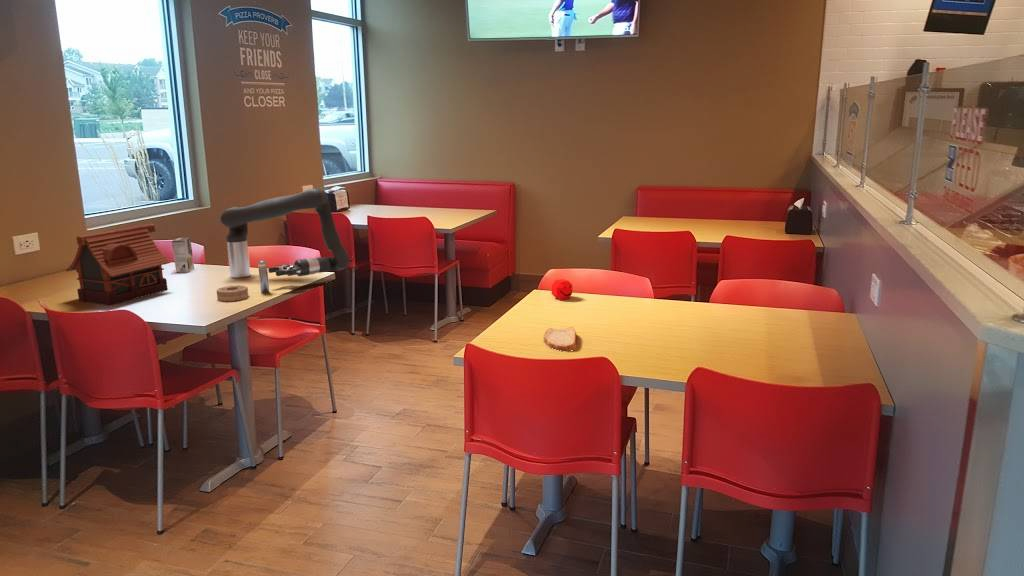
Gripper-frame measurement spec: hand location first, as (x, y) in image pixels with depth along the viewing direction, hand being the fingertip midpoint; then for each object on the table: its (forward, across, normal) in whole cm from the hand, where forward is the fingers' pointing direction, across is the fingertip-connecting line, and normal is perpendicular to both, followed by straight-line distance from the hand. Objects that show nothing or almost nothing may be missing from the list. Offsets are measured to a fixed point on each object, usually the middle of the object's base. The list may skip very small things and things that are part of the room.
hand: (272, 272), depth 320 cm
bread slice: (-48, +137, +9) cm, 145 cm away
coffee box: (+18, -71, +9) cm, 74 cm away
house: (+52, -37, +9) cm, 64 cm away
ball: (-87, +94, +8) cm, 128 cm away
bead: (+18, 0, +8) cm, 20 cm away
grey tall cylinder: (+4, 0, +8) cm, 9 cm away
